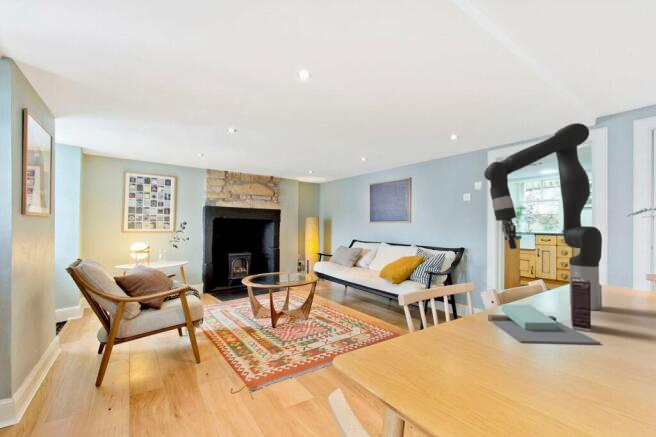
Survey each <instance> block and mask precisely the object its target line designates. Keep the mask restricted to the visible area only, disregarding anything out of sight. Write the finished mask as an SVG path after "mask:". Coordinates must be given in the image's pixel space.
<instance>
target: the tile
mask: <svg viewBox="0 0 656 437" xmlns="http://www.w3.org/2000/svg"><path fill="white" fill-rule="evenodd" d="M500 312H501V313H503V315H507V316H508V317H509V318H510V319H512V320H513V321H514V322H515V323H517V324H518V325H519V326H520V327H522V328H523V329H524V330H557V322H558V321H557V320H556V321H557V322H556V321H554V320H552V319H551V318H549V317H548V316H549V315H546V314H544V313H543V312H542V311H540V310H539V309H537V308H536V307H534V306H533V305H531V304H519V303H518V304H511V303H510V304H508V303H507V304H505V303H504V304H503V303H502V304H501V306H500Z"/></svg>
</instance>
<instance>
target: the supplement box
mask: <svg viewBox="0 0 656 437" xmlns="http://www.w3.org/2000/svg"><path fill="white" fill-rule="evenodd" d="M591 313H592V310H591V283H590V282H589V280H588V279H586V278H575V277H571V305H570V324H571V329H573V330H576V331H583V332H589V333H590V332H592V330H591V329H592V323H591V322H592V319H591V318H592V317H591V316H592V314H591Z"/></svg>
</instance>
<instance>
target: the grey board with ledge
mask: <svg viewBox="0 0 656 437" xmlns="http://www.w3.org/2000/svg"><path fill="white" fill-rule="evenodd" d="M547 316H548V317H549V318H551V319H552V320H554V321H556V322H557V330H524V329H523V328H522V327H520V326H519V325H518V324H517V323H515V322H514V321H513V320H512V319H510V318H509V317H508V316H507V315H506V314H502V315H501V314H488V315H487V320H488V321H489V322H490V321H491V322H490V323H492V324H493V323H494V324H493V325H495V326H496V327H498V328H499V329H501V330H502V331H503V332H505V333H506V334H508V335H509V336H510V337H512V338H513V339H515V340H516V341H518V342H519V343H521V344H553V345H554V344H555V345H557V344H558V345H559V344H561V345H563V344H565V345H596V346H597V345H602V343H601V341H598V340H596V339H594V338H592V337H591V336H588V335H586V334H584V333H581V332H580V331H579V330H576V329H573V328H572V327H570V326H567V325H565V324H563V323H561V322H558V321H557V317H555V316H554V315H547Z"/></svg>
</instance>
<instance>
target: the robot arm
mask: <svg viewBox="0 0 656 437" xmlns="http://www.w3.org/2000/svg"><path fill="white" fill-rule="evenodd" d="M589 136H590V129H589V128H588V126H587V125H585V124H583V123H578V122H577V123H571V124H568V125H566V126H564V127H561V128H560V129H558V130H557V131H556V132H555V133H554V135H553V136H551V137H549V138H547V139H545V140H543V141H541V142H538V143H536V144H534V145H531V146H528V147H527V148H526V147H525V148H523V149H521V150H519V151H517V152H515V153H513V154H511V155H509V156H508V157H506V158H505V159H503V160H501V161H493V162H492V163H490V164H488V166H487V167H486V169H485V170H484V179H486V180H487V181H489V182H490V189H489V192H490V196H491V201H492V203H491V204H492V208H493V213H494V216H495V221H498V222H500V221H501V223H502V224H501V230H502V233H503V236H504V238H505V239H506V241H508V247H509V250H515V249H517V248H518V247H517V243H516V238H517V230H516V229H517V227H516V225H515V223H514V222H513V220H512V219H516V218H517V214H516V210H515V206H514V202H513V199H512V197H511V192H510V189H509V185H508V184H509V182H508V175H510V174H512V173H515V172H516V171H519V170H521V169H524V168H526V167H527V166H529V165H531V164H534V163H536V162H538V161H540V160H541V159H544V158H546V157H548V156H550V155H552V154H555V155H556V159H557V164H558V174H559V185H560V193H561V200H562V212H563V213H562V214H563V215H562V216H563V223H562V224H563V228H562V230H563V232H562V233H563V240H564V243H565V244H566V246H568V247H570V248H572V249H579V253H578V254H577V255H575V256H571V257H570V258H568V259H569V262H568V264H569V265H568V266H569V270H568V271H569V305H570V306H571V277H575V278H586V279H588V280H589V282H590V283H591V311H599V310H600V309H603V304H602V303H603V301H602V300H603V298H602V295H603V294H602V292H603V291H602V290H603V289H602V287H603V286H602V285H601V283H600V262H601V259H602V248H603V246H602V245H603V236H602V233H601V231H600V229H598V227H595V226H583V225H582V220H581V218H582V217H581V216H582V211H583V210H584V208H585V206H586V205H587V202H588V200H589V199H590V195H591V186H590V179H589V175H588V174H587V172H586V170H585V169H584V167H583V166H582V164H581V162H580V160H579V156H578V146H581V145H582V144H583V143H585V142H586V141H587V140H588V138H589Z"/></svg>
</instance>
